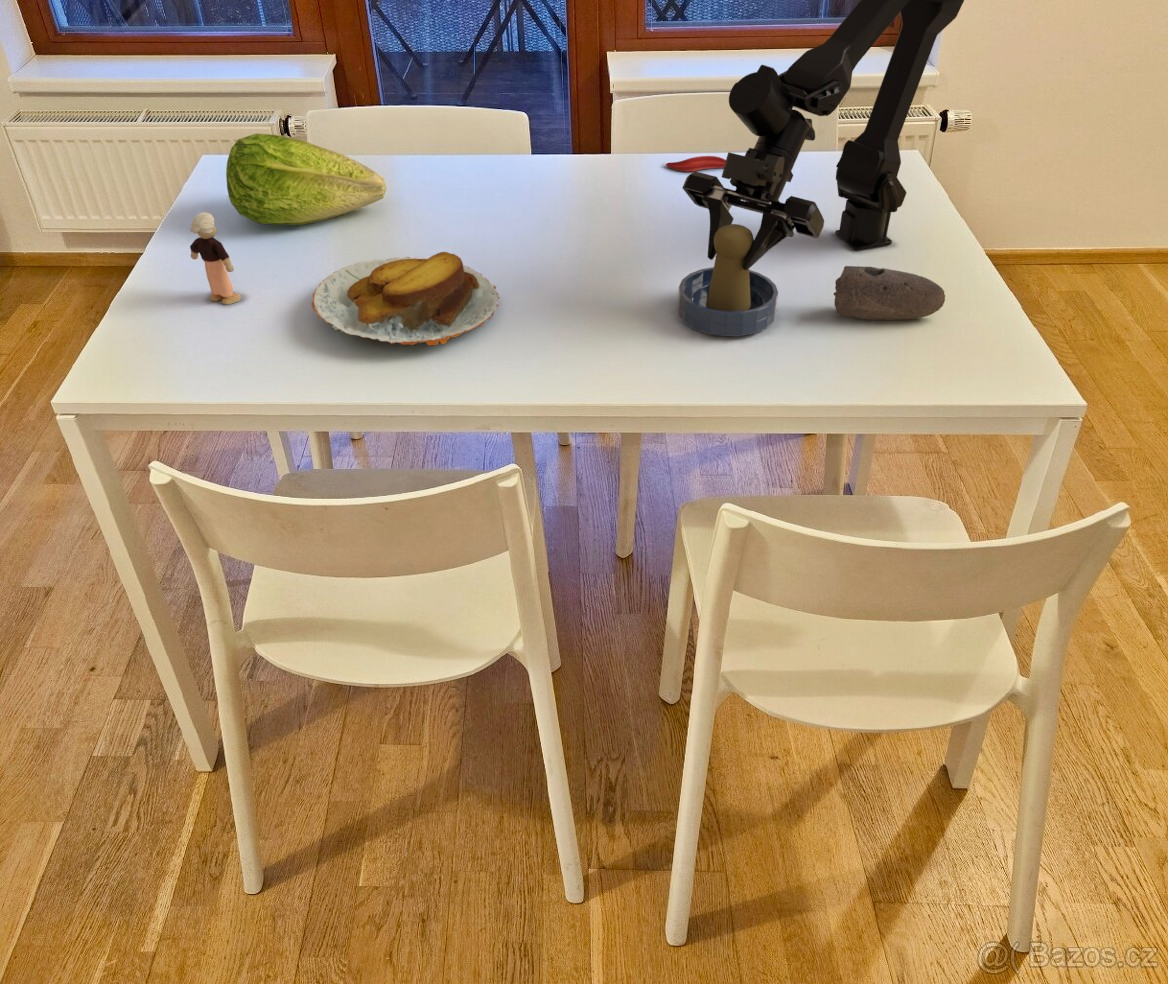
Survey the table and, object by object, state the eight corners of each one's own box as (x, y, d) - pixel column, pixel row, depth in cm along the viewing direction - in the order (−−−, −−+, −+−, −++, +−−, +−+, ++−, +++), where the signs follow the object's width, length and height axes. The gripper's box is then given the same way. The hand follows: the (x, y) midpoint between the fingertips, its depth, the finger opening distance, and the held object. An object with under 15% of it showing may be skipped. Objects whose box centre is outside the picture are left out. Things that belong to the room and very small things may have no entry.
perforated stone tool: (937, 310, 142) (948, 264, 138) (943, 330, 138) (954, 283, 134) (827, 304, 144) (834, 258, 139) (829, 323, 140) (837, 276, 135)
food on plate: (336, 269, 153) (329, 228, 149) (503, 269, 153) (501, 227, 148) (298, 360, 133) (289, 315, 129) (491, 360, 133) (488, 315, 129)
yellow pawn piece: (741, 318, 137) (748, 242, 130) (699, 309, 139) (704, 233, 132) (756, 298, 141) (764, 223, 134) (715, 289, 144) (721, 215, 137)
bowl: (747, 285, 148) (750, 260, 145) (791, 329, 138) (795, 303, 136) (663, 301, 145) (664, 275, 142) (701, 347, 135) (704, 320, 132)
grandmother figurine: (253, 295, 147) (233, 211, 139) (238, 308, 144) (217, 223, 136) (207, 287, 149) (185, 204, 141) (191, 299, 146) (168, 215, 138)
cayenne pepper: (663, 169, 181) (664, 159, 180) (667, 159, 184) (667, 149, 183) (732, 174, 179) (733, 163, 178) (734, 164, 182) (735, 153, 181)
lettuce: (384, 241, 162) (385, 151, 156) (222, 229, 158) (217, 137, 152) (387, 220, 175) (388, 136, 169) (238, 209, 171) (234, 122, 165)
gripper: (693, 110, 132) (644, 221, 133) (826, 140, 124) (774, 259, 124) (720, 150, 142) (674, 254, 142) (845, 181, 134) (796, 291, 134)
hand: (726, 263), depth 135 cm, fingers closed on yellow pawn piece, 5 cm apart
